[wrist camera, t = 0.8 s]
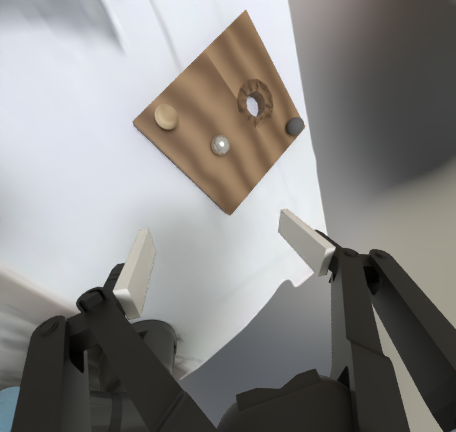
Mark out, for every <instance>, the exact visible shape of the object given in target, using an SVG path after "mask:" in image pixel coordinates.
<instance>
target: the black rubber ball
mask: <svg viewBox="0 0 456 432" xmlns="http://www.w3.org/2000/svg"><path fill="white" fill-rule="evenodd" d="M303 127H304V122H303V120H302V119H301V118H299V117H294V118H292V119H291V120H290V121H289V122H288V124H287V131H288V133H289V134H291V135H297V134H299V133H300V132H301V131H302V130H303Z"/></svg>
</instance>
